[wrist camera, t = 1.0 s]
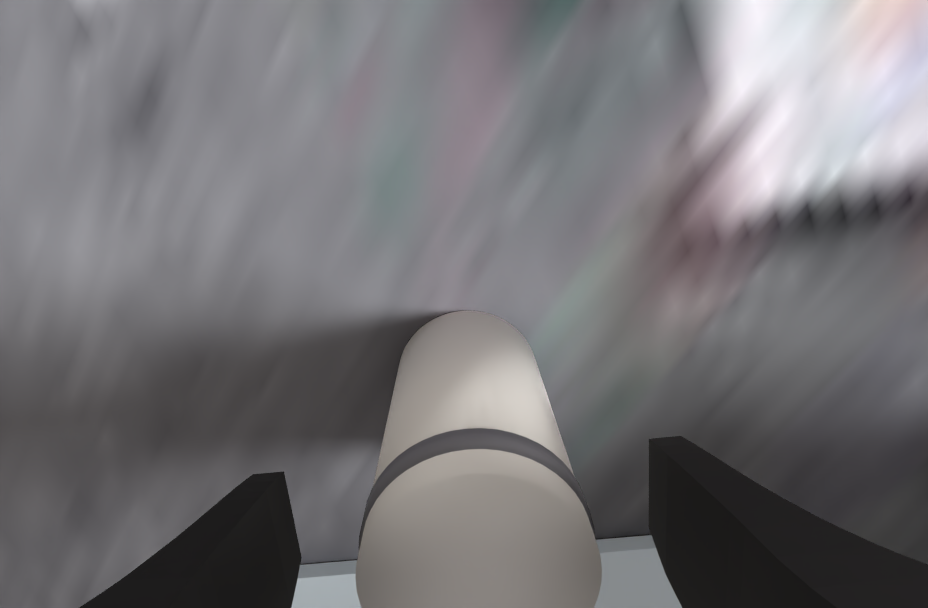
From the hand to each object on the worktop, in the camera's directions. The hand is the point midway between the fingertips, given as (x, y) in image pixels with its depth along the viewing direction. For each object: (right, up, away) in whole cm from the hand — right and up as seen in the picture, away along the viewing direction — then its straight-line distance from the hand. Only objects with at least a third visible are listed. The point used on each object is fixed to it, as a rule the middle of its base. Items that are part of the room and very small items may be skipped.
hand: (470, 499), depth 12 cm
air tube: (0, +2, +6) cm, 6 cm away
